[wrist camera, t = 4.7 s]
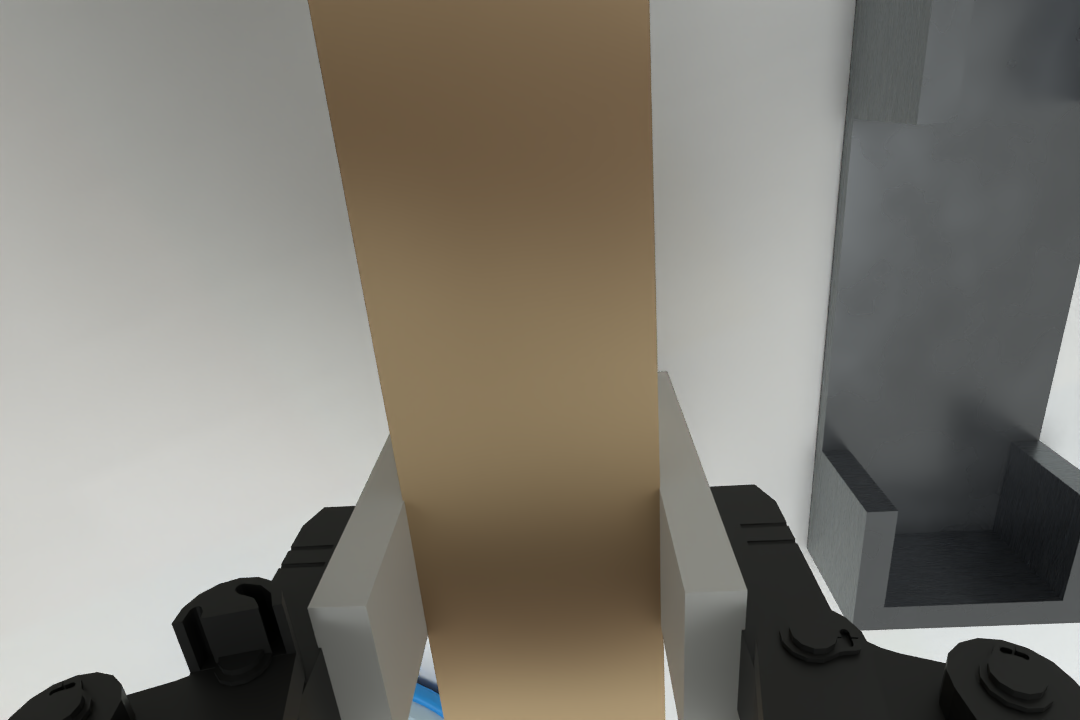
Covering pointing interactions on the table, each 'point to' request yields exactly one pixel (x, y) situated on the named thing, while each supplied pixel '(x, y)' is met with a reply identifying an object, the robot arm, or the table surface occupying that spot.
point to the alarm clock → (425, 705)
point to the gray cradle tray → (951, 319)
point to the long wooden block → (513, 333)
